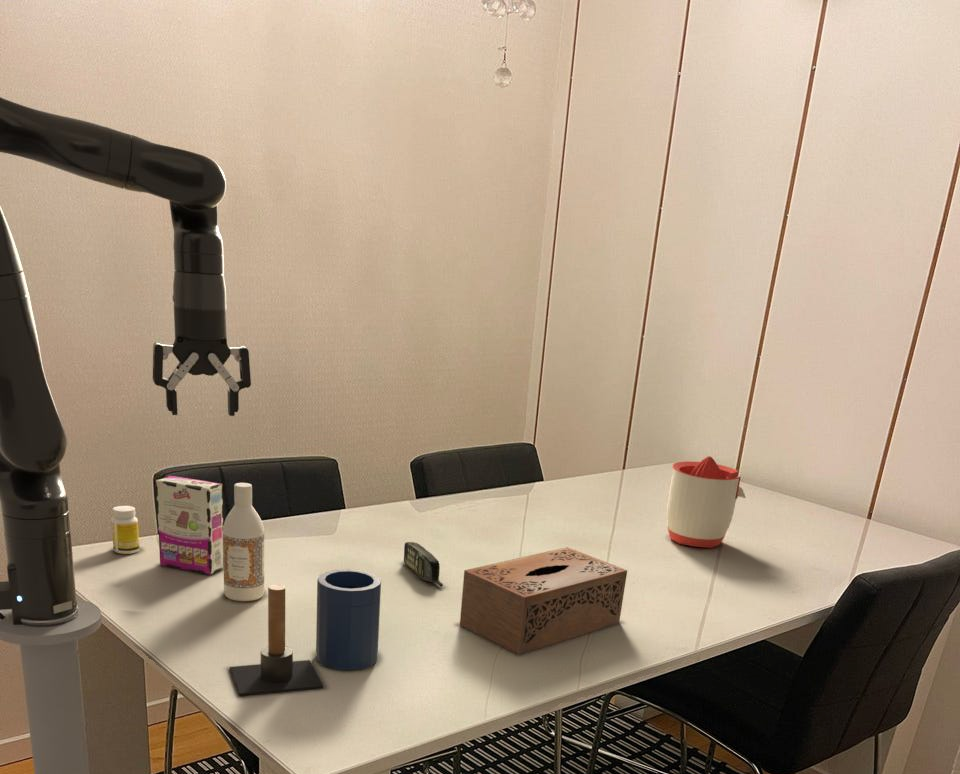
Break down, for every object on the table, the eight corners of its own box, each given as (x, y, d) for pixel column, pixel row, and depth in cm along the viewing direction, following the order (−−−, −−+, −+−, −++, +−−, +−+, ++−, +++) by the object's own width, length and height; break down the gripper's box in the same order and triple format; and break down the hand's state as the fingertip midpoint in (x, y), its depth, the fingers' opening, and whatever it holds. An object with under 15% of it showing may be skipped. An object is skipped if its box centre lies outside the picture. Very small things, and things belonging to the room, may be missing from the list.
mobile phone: (401, 540, 192) (433, 563, 180) (415, 539, 193) (447, 561, 181) (400, 564, 194) (431, 588, 182) (414, 563, 195) (446, 587, 183)
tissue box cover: (518, 654, 158) (524, 597, 154) (459, 624, 167) (464, 570, 163) (619, 622, 174) (627, 570, 170) (560, 597, 184) (567, 547, 180)
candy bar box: (225, 568, 183) (224, 483, 176) (211, 575, 179) (209, 489, 172) (173, 557, 186) (170, 473, 179) (158, 565, 181) (154, 479, 175)
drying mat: (239, 696, 136) (239, 693, 136) (229, 669, 144) (229, 666, 144) (323, 688, 141) (323, 685, 141) (309, 662, 148) (309, 660, 148)
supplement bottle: (144, 550, 188) (142, 508, 185) (125, 556, 184) (122, 513, 181) (127, 544, 190) (125, 503, 187) (108, 550, 186) (105, 508, 183)
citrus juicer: (738, 556, 217) (756, 469, 209) (661, 546, 219) (675, 459, 211) (733, 536, 232) (749, 454, 224) (660, 527, 234) (673, 445, 226)
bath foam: (218, 599, 168) (215, 487, 160) (231, 586, 175) (229, 477, 167) (257, 604, 168) (256, 492, 160) (269, 590, 174) (269, 481, 166)
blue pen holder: (324, 673, 145) (326, 592, 140) (310, 647, 153) (311, 570, 148) (384, 667, 149) (388, 588, 144) (367, 643, 157) (370, 567, 152)
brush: (263, 684, 140) (263, 593, 134) (258, 670, 143) (257, 582, 138) (295, 681, 141) (296, 591, 136) (289, 668, 145) (289, 580, 140)
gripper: (151, 304, 137) (157, 419, 144) (253, 309, 143) (254, 420, 149) (147, 299, 144) (152, 409, 150) (244, 304, 149) (245, 410, 155)
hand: (203, 414), depth 150 cm, fingers open, 8 cm apart
